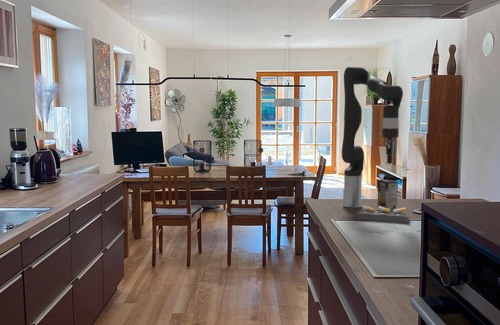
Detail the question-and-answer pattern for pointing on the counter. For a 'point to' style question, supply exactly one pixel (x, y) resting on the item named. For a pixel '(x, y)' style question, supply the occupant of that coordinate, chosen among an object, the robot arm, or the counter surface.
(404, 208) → the right rocker
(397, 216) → the power strip
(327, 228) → the counter surface
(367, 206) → the left rocker
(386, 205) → the coffee box
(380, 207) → the middle rocker
